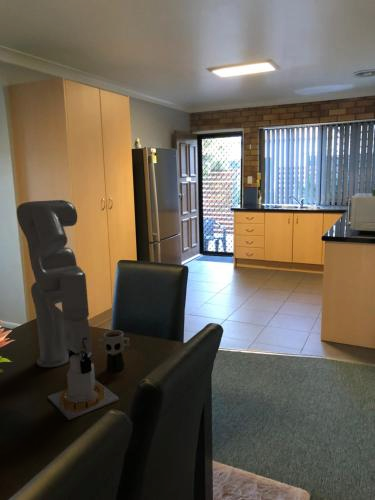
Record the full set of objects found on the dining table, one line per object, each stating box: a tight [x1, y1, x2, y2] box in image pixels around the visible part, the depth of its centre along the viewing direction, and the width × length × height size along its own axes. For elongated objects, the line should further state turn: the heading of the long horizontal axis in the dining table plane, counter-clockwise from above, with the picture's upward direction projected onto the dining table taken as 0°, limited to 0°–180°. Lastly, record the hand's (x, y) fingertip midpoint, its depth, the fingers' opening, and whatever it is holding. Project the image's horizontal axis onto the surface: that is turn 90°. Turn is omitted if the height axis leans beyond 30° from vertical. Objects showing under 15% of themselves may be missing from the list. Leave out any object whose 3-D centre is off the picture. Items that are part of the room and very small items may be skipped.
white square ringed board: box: [47, 379, 120, 421], centre depth 128 cm, size 16×16×2 cm
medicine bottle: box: [66, 352, 96, 397], centre depth 126 cm, size 7×7×12 cm
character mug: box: [97, 329, 130, 372], centre depth 147 cm, size 11×7×13 cm, turn 94°
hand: (80, 367), depth 126 cm, fingers closed on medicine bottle, 7 cm apart
